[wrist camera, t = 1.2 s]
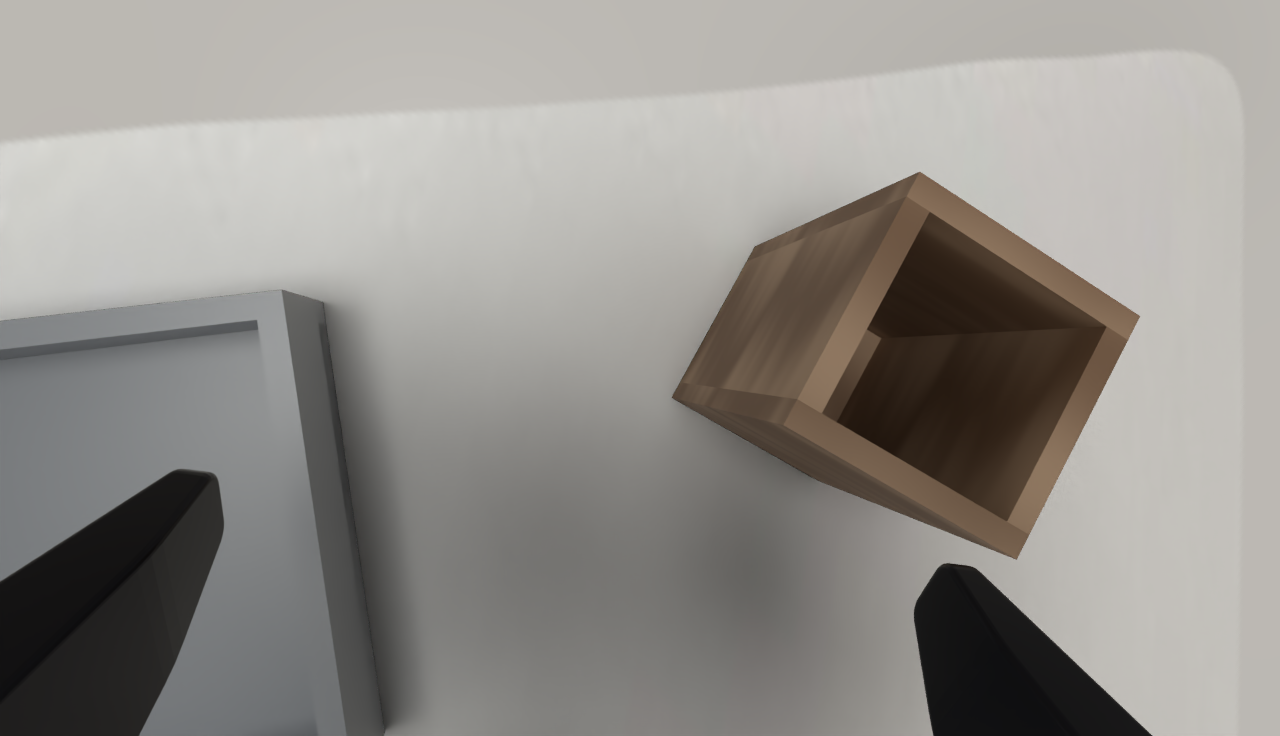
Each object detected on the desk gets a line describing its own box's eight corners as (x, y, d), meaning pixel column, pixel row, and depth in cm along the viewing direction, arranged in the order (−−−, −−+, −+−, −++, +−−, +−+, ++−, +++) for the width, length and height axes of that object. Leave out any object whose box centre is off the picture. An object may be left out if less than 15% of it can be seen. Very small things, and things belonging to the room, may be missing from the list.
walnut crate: (816, 479, 27) (1016, 559, 17) (671, 397, 27) (783, 424, 16) (894, 332, 28) (1139, 316, 17) (754, 246, 27) (919, 172, 16)
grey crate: (384, 732, 25) (357, 812, 21) (-106, 831, 23) (-254, 945, 18) (322, 302, 25) (281, 289, 20) (-185, 360, 22) (-357, 360, 18)
